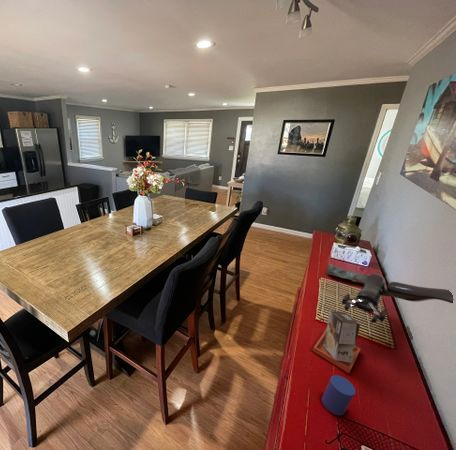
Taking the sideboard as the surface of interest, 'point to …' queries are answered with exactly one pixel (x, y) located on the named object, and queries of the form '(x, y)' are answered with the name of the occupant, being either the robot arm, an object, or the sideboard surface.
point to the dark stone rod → (345, 274)
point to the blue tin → (338, 395)
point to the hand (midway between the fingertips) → (359, 314)
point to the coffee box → (341, 336)
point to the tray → (325, 354)
